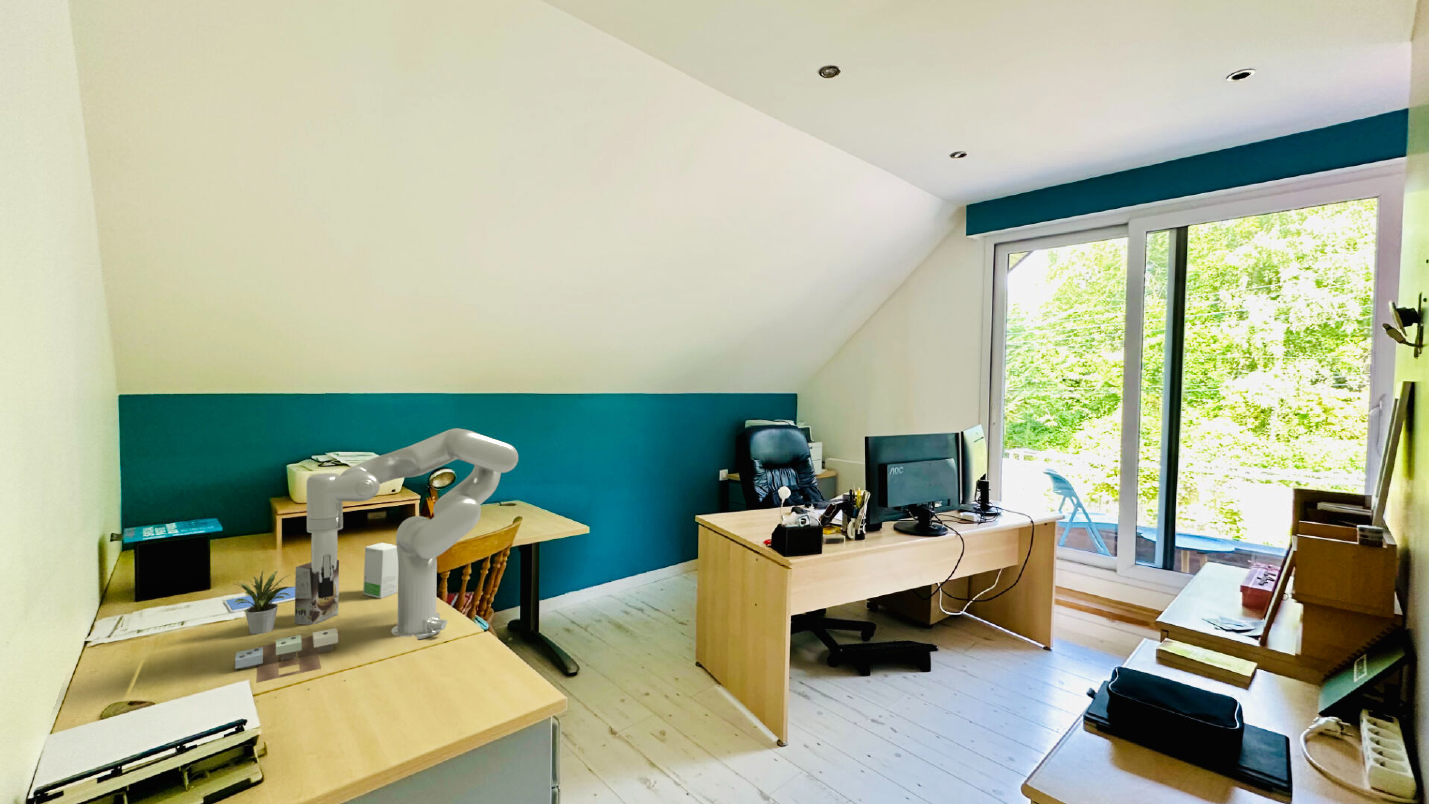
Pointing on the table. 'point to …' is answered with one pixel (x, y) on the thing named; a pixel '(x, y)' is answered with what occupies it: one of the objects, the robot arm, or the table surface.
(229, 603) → the tablet computer
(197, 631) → the table surface
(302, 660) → the tile board
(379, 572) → the skincare box
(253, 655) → the tile three
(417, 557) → the robot arm
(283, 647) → the tile two
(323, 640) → the tile one
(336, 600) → the coffee box
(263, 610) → the house plant
